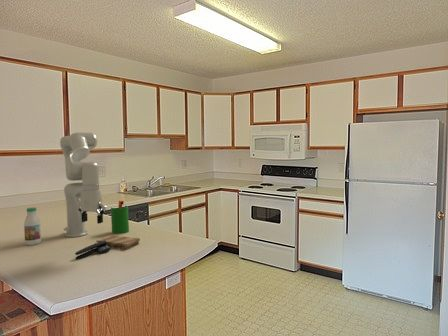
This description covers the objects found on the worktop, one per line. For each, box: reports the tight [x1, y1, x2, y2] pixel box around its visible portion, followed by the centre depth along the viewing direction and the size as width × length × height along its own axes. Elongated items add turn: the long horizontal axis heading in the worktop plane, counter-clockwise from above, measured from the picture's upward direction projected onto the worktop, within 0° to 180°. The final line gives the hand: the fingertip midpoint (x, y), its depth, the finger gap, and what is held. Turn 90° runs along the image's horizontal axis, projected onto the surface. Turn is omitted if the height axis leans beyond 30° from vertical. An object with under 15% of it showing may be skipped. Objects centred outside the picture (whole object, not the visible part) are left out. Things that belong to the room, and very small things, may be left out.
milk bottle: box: [23, 206, 42, 246], centre depth 181 cm, size 8×8×20 cm
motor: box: [110, 200, 130, 235], centre depth 203 cm, size 10×9×20 cm
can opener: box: [75, 241, 112, 260], centre depth 162 cm, size 18×7×6 cm, turn 142°
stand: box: [95, 234, 141, 251], centre depth 177 cm, size 20×11×3 cm, turn 69°
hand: (92, 222), depth 161 cm, fingers open, 9 cm apart
